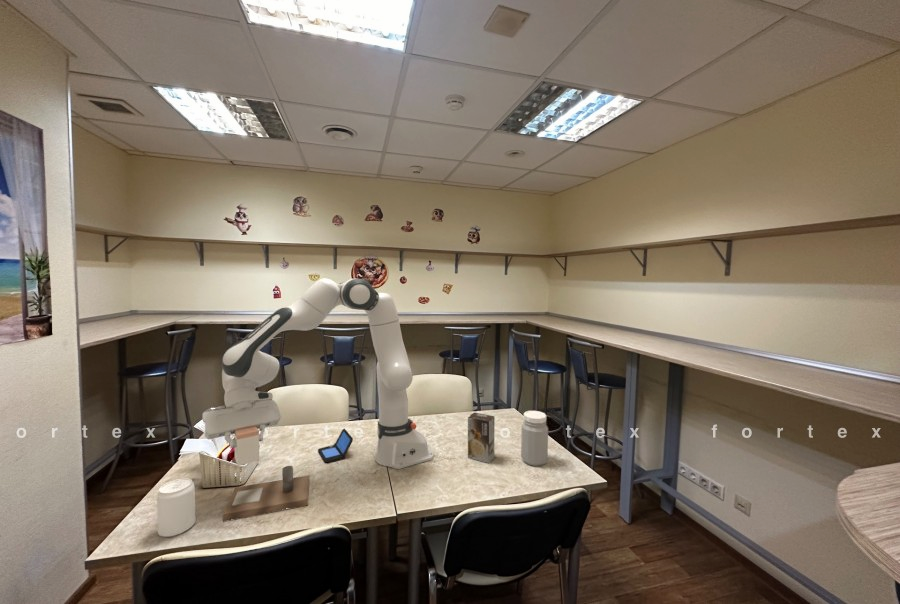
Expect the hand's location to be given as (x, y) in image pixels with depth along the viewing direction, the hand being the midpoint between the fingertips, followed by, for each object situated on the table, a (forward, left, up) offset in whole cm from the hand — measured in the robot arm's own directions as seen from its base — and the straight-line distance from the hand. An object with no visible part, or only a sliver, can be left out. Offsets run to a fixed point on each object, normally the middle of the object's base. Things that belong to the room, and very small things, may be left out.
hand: (247, 443), depth 105 cm
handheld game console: (-26, -25, -19) cm, 41 cm away
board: (-6, -1, -19) cm, 20 cm away
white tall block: (0, -1, -5) cm, 5 cm away
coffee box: (-79, -4, -19) cm, 81 cm away
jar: (-97, +5, -19) cm, 99 cm away
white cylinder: (+16, +5, -19) cm, 25 cm away
